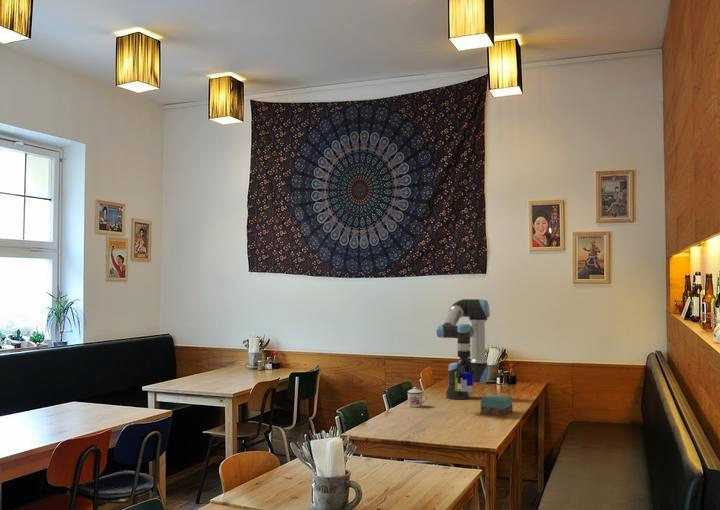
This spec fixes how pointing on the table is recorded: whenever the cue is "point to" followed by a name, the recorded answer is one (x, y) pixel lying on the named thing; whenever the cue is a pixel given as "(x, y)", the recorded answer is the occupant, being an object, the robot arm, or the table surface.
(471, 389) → the puzzle toy
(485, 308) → the robot arm
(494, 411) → the base block
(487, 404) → the top block
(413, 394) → the teacup with lid
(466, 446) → the table surface
